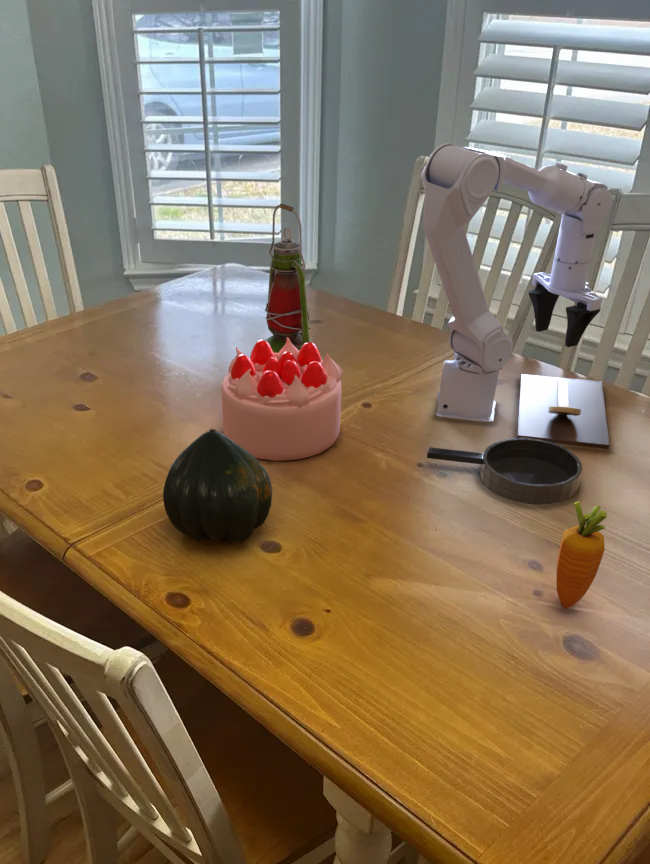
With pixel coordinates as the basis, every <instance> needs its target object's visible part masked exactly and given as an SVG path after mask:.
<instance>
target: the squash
mask: <svg viewBox="0 0 650 864" xmlns="http://www.w3.org/2000/svg"><path fill="white" fill-rule="evenodd" d="M162 499H163V506H164V511H165V513H166V515H167V518H168V519H169V521H170V523H171V524H172V526H173V527H174V528H175V529H176V530H177V531H179V532H180V533H182V534H184V535H186V536H190V537H191V538H193V539H194V540H197V541H204V540H206V539H208V538H210V539H211V540H215V541H218V540H222V539H223V538H225V539H226V540H228V541H230V542H232V543H243V542H246V541H247V540H248V539H249V538H250V537H251V535H252V533H253V532H254V530H256V529H258V528H260V527H261V526H262V525H263V524H264V523H265V522H266V520H267V518H268V516H269V514H270V510H271V507H272V501H273V487H272V482H271V479H270V475H269V474H268V471H267V470H266V468H265V467H264V466H263V465H262V464H261V462H260V461H259V460H258V458H255V457H254V456H253V455H252V454H250V453H249V452H248V451H246V450H245V449H243V448H242V447H240V446H239V445H237V444H236V443H234V442H233V441H232V440H230V439H229V438H228V437H226V436H225V435H224V433H222V432H220V431H218V430H216V429H215V428H210V429H209V430H207V431H205V432H204V433H202V434H201V435H199V436H198V437H197V438H196V439H195V440H193V442H191V443H190V444H189V445H188V446H187V447H185V448H184V449H183V451H181V452H180V453H179V455H177V457H176V458H175V459H174V461H173V462H172V464H171V465H170V468H169V470H168V472H167V476H166V478H165V481H164V486H163V491H162Z"/></svg>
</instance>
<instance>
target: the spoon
mask: <svg viewBox="0 0 650 864" xmlns="http://www.w3.org/2000/svg"><path fill="white" fill-rule="evenodd" d="M557 405H558V406H550V407H549V411H548V412H549V413H553V414H560V415H572V416H578V415H580V413H581V409H577V408H571V407H569V402H568V383H567V380H563V379H558V382H557Z"/></svg>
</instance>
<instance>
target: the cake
mask: <svg viewBox="0 0 650 864" xmlns="http://www.w3.org/2000/svg"><path fill="white" fill-rule="evenodd" d="M312 342H313V341H312ZM312 342H307V343H305V344H304V345H303V346H302V347H301V349H300V351H299V350H298V349H297V348H296V347H295V346H294V345H293V344H292V343H291V341H290V339H289V338H288V337H287V341H286V344H285V346H284V347H283V348H282V349H281V350H280V351H279V353H273V350H272V348H271V346H270V345H269V343H268V342H267V341H265V339H260V340H257V342H255V344H254V345H253V347H252V349H251V352H250V355H249V356H248V355H246V354H245V353H244V352H242V351H241V350H240V349H239V348H238V347H237V346H235V351H236V355H235V356H234V358H233V359H231V361H230V363H229V366H228V371H227V372H228V373H227V374H226V375H225V377H224V378H223V380H222V382H221V389H220V390H221V391H220V393H221V411H222V424H223V425H222V427H223V428H222V429H223V434H224V435H225V436H226V437H228V438H229V439H230V440H232V441H233V442H234V443H236V444H237V445H239V446H240V447H242V448H243V449H245V450H246V451H248V452H249V453H250V454H252V455H253V456H254V457H255V458H256V459H261V460H266V461H276V462H277V461H279V462H280V461H281V462H282V461H295V460H301V459H306V458H309V457H312V456H316V455H318V454H320V453H323V452H324V451H326V450H327V449H329V448H330V447H332V446H333V445H334V443H336V441H337V440H338V438H339V436H340V432H341V431H340V429H341V409H342V407H341V406H342V381H341V379H342V377H343V374H344V370H343V368H342V367H341V366H340V365H339V364H337V363H336V362H335V361H334V359H332V358H331V356H330V355H329V352H327V353H326V355H325V357H324V359H323V358H322V356H321V353H320V351H319V348H318V347H317V345H316V344H315V343H314V342H313V343H312Z"/></svg>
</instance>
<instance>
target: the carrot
mask: <svg viewBox="0 0 650 864" xmlns="http://www.w3.org/2000/svg"><path fill="white" fill-rule="evenodd" d="M573 505H574V509H575V512H576V517H577V522H578V525H574V526H573V527H569V528H566V529H565V530H563V532H562V535H561V539H560V543H559V548H558V553H557V560H556V593H557V598H558V600H559V603H560V605H561V607H563V608H564V609H570V608H572V607H573V606H574V605H576V604H577V603H578V602H579V601H580V600H581V599H583V597H584V596H585V595H586V593H588V590H589V589H590V587H591V585H592V584H593V582H594V580H595V578H596V576H597V574H598V571H599V569H600V565H601V563H602V559H603V556H604V553H605V548H606V547H605V535H603V533H601V532H600V531H602V530H604V529H606V526H605V525H603V524H600V523H602V522H603V521H604V520H605V519H606V518H607V517H608V513H607V511H605V510H601V509H602V506H601V505H595V506H594V507H593V508H592V510H591V511H590V513H588V512H586V513H584V514H583V508H582V505H581V502H580V501H576V502H574V503H573Z"/></svg>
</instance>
